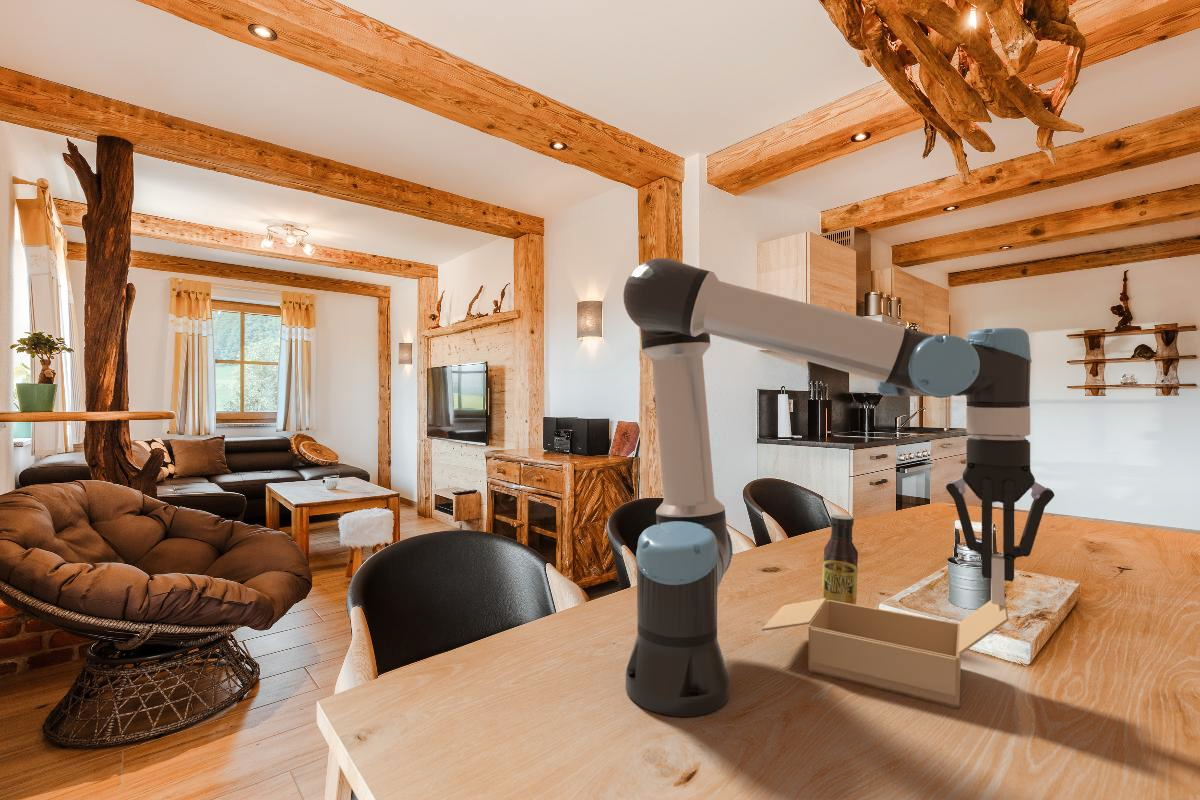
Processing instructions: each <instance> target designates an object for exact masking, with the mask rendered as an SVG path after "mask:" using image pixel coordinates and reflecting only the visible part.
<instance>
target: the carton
mask: <svg viewBox="0 0 1200 800" xmlns="http://www.w3.org/2000/svg"><path fill="white" fill-rule="evenodd" d="M959 633H960V623H958V622H953V621H948V620H944V619H943V620H941V619H937V618H931V617H926V616H920V615H916V614H915V615H914V614H910V613H909V614H908V613H903V612H899V611H898V612H897V611H893V610H886V609H881V608H876V607H872V606H871V607H870V606H865V605H859V604H856V605H855V604H849V603H844V602H838V601H833V600H827V601H826V603H825V604H824V605H823V607H822V608H821V609H820V610H819V612H818V613H817V614H816V616H815V617H814V619H813V620H812V622H811V623H810V624H809V625H808V663H807V664H808V672H809V673H813V674H817V675H821V676H825V677H829V678H833V679H837V680H840V681H841V680H842V681H845V682H849V683H854V684H857V685H860V686H865V687H868V688H869V687H870V688H873V689H877V690H882V691H886V692H888V693H894V694H898V695H901V696H905V697H908V698H909V697H910V698H914V699H917V700H921V701H925V702H929V703H934V704H937V705H942V706H945V707H950V708H954V709H956V710H960V700H961V698H960V696H961V695H960V694H961V670H962V669H961V668H962V667H961V666H962V663H961V662H962V656H961V655H962V654H959Z"/></svg>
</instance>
